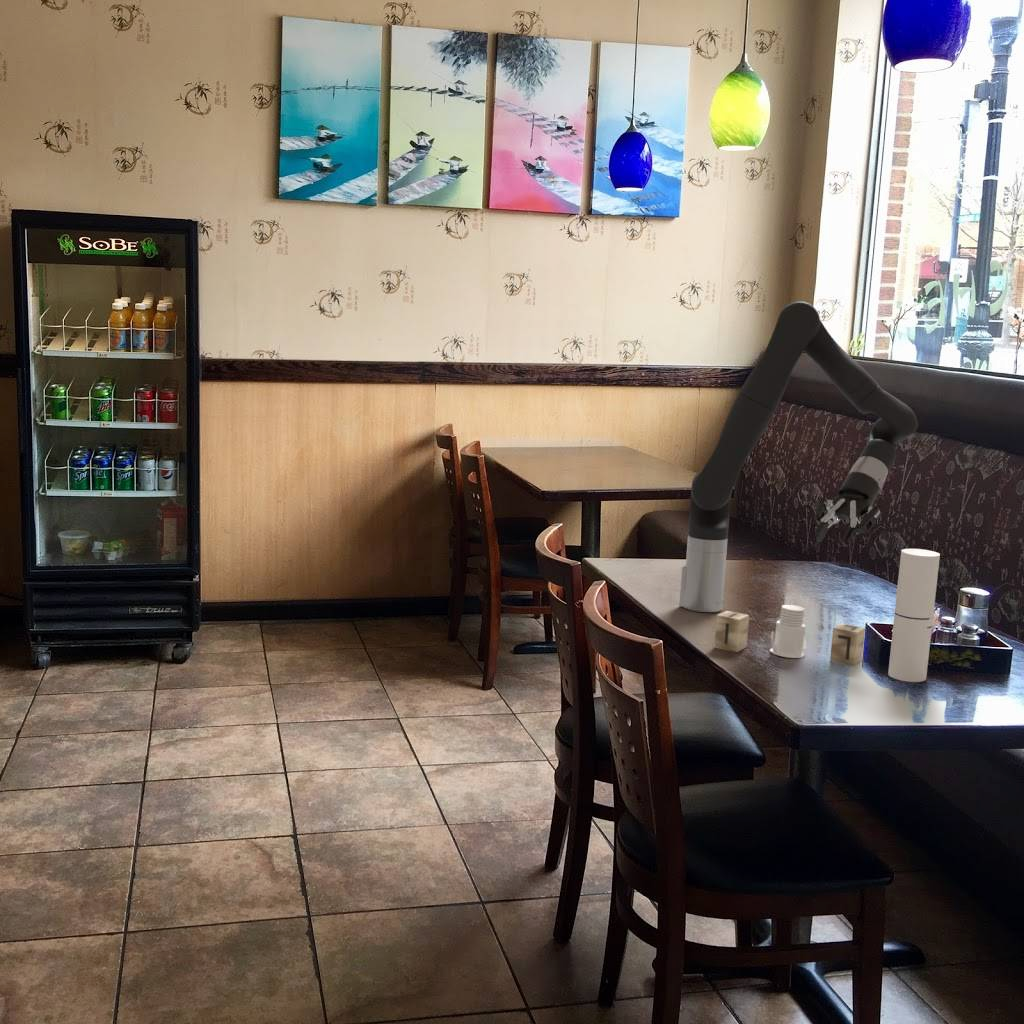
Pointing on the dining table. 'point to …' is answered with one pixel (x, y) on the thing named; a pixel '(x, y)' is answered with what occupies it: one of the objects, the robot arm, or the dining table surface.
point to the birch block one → (731, 631)
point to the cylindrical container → (913, 614)
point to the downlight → (789, 633)
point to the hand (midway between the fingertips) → (831, 541)
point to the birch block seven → (847, 644)
